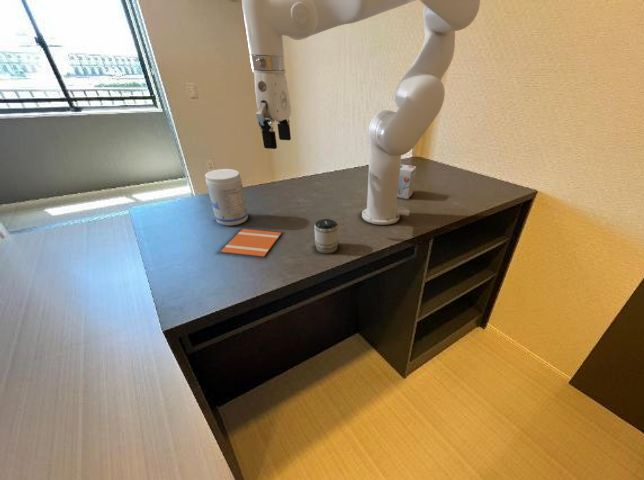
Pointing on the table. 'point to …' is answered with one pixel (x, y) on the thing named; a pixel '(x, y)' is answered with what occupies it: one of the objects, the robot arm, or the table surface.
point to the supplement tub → (227, 196)
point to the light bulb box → (406, 181)
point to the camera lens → (326, 235)
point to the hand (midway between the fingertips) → (278, 143)
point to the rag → (251, 242)
